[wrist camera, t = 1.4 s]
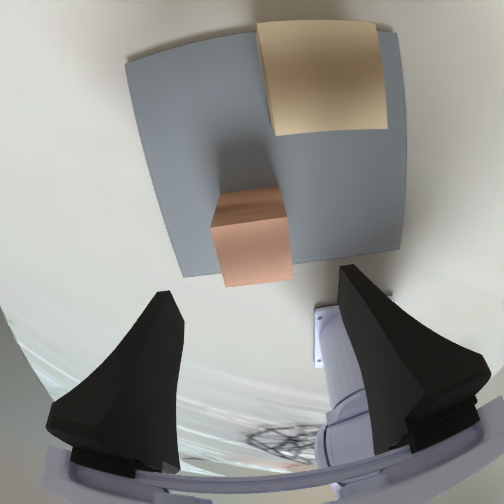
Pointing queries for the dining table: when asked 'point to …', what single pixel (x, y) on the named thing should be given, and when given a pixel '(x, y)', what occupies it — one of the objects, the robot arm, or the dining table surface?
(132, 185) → the dining table surface
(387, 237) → the slate board
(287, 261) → the terracotta block
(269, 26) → the oak block
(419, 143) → the dining table surface
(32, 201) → the dining table surface
